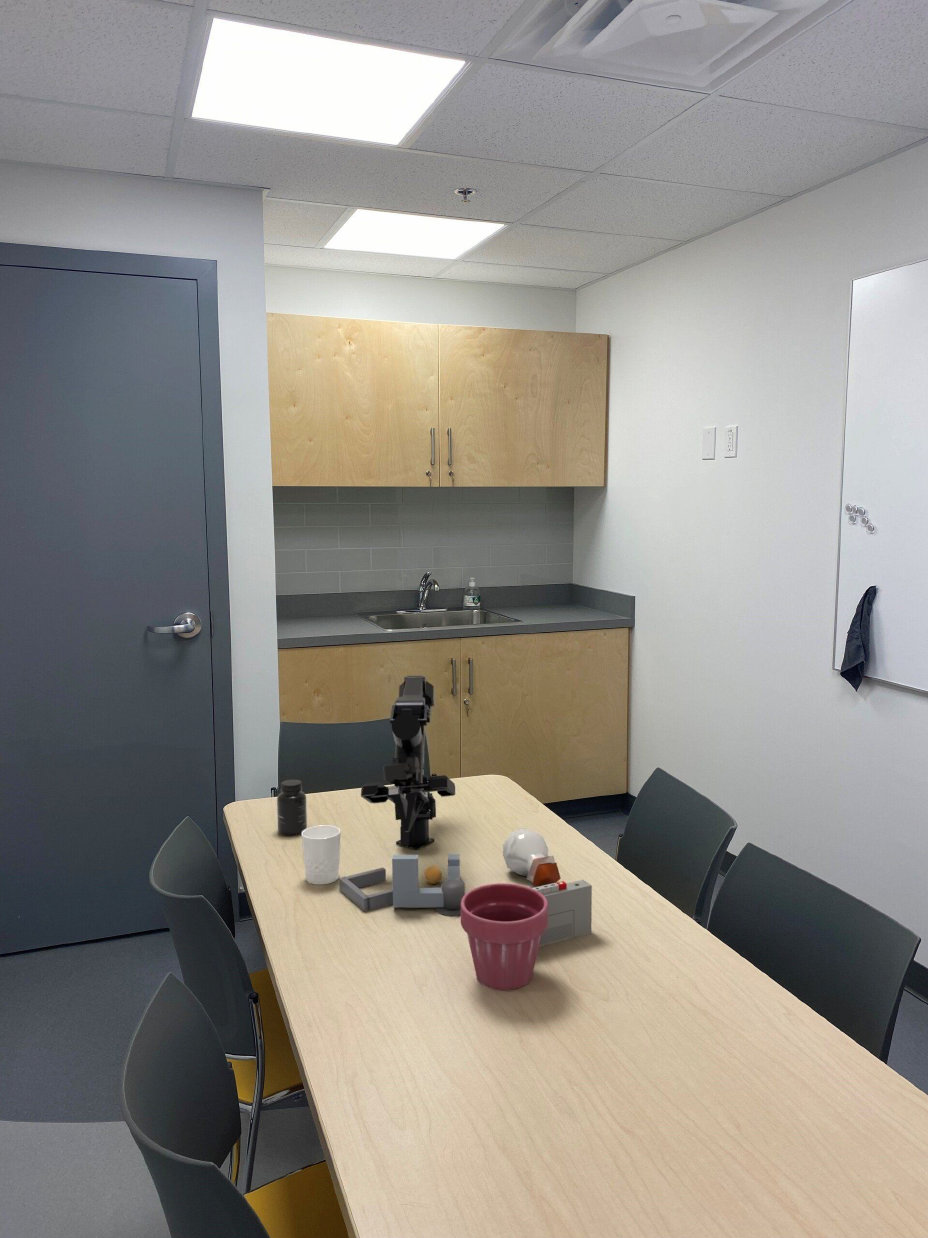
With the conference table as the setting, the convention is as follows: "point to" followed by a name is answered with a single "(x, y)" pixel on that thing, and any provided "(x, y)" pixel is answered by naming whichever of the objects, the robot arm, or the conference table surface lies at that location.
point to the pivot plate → (448, 911)
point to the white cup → (321, 854)
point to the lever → (415, 897)
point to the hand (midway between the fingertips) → (407, 831)
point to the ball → (433, 874)
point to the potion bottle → (530, 857)
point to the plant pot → (504, 932)
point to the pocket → (356, 881)
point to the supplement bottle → (291, 808)
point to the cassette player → (567, 910)
